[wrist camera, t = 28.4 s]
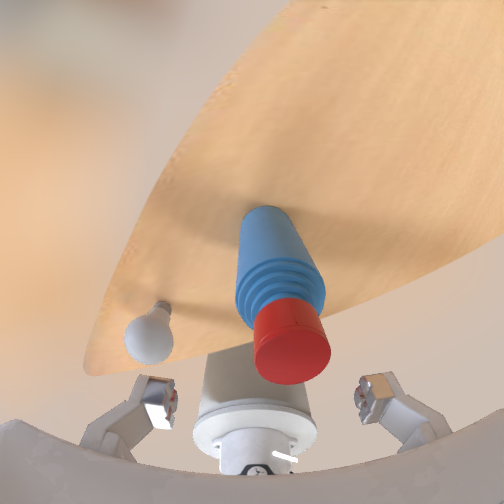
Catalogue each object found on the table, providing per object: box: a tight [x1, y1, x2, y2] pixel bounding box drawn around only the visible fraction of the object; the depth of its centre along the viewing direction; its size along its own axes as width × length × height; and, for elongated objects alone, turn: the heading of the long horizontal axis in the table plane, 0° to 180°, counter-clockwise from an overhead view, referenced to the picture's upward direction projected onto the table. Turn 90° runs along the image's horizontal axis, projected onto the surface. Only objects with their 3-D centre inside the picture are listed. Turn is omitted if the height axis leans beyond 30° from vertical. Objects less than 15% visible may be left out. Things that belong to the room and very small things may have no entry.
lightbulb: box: [124, 301, 173, 365], centre depth 33 cm, size 6×6×11 cm
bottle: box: [235, 206, 325, 330], centre depth 24 cm, size 6×6×22 cm
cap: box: [253, 298, 331, 385], centre depth 15 cm, size 4×4×3 cm
